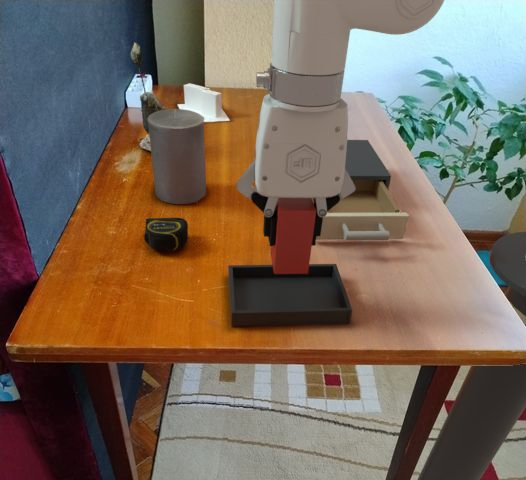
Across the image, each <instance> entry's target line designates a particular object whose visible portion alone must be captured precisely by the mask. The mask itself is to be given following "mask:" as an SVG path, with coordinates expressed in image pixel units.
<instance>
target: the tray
mask: <svg viewBox="0 0 526 480" xmlns="http://www.w3.org/2000/svg"><path fill="white" fill-rule="evenodd" d="M227 268H228V269H227V272H228V275H227V276H228V277H227V278H228V279H227V280H228V294H229V295H228V296H229V309H230V323H231V324H230V325H231V328H234V327H235V328H237V327H239V328H241V327H272V326H273V327H276V326H279V327H280V326H316V325H317V326H319V325H349V324H351V319H352V315H353V311H354V310H353V307H352V305H351V302H350V299H349V296H348V294H347V290H346V288H345V285H344V282H343V280H342V276H341V274H340V270H339V268H338V265H337V263H309V269H308V274H274V270H273V265H272V264H233V265H232V264H229V265H228V267H227Z"/></svg>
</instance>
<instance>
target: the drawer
mask: <svg viewBox="0 0 526 480" xmlns="http://www.w3.org/2000/svg"><path fill="white" fill-rule="evenodd" d="M352 181H353V183H354V185H355V188H356V189H355V191H354V192H353V193H351V194H350V195H348V196H346V197H345V198H343V199H341V200H340V201H339V202H338V203H337V204H336V205H335V206H334V207H332V208H331V209H330V210H329V211H327V215H326V216H325V217H323V221H322V228H321V235H320V236H316V241H323V240H324V241H326V240H327V241H330V240H333V241H336V240H337V241H338V240H339V241H340V240H343V241H389V240H404V236H405V232H406V230H407V229H406V228H407V225H408V222H409V217H410V215H409V213H408V212H401V208H400V207H399V205H398V204H397V202H396V201H395V199H394V198H393V195H392V194H391V192H390V191H389V188H388V189H387V188H386V186H385V184H384V183H383V181H382V180H352ZM312 200H313V198H312ZM313 203H314V200H313Z"/></svg>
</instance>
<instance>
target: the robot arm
mask: <svg viewBox="0 0 526 480" xmlns="http://www.w3.org/2000/svg"><path fill="white" fill-rule="evenodd" d="M444 1H445V0H274V1H273V20H272V21H273V22H272V39H271V59H270V63H269V67H267V70H264V71H263V72H259V71H257V72H256V75H255V76H256V80H255V81H256V82H255V83H256V87H257V88H263V89H266V90H267V92H269V93H267V94H266V95H264V97H263V99H262V103H261V107H260V111H259V112H260V113H259V117H258V123H257V131H256V138H255V148H254V149H255V150H254V159H253V161H252V162H251V163H250V164H249V166H248V167H247V168H246V169H245V171H244V172H243V173H242V174H241V176H240V177H239V178H238V179H237V181H236V184H235V185H236V190H237V192H238V193H240V194H241V195H243V196H244V197H245V198H246V199H249V200H250V201H251V202H252V203H253V204H254V205H255V206H256V207H257V208H258V209H259V210H260V211H261V213H263V228H262V229H263V230H262V232H263V233H262V234H263V237H267V238H268V244H269V246H270V247H271V246H274V245H275V241H276V227H277V216H276V211H275V208H276V205H277V202H278V199H279V198H313V200H314V206H315V209H316V216H315V224H314V232H313V239H312V247H315V246H316V244H317V240H316V236H320V235H321V228H322V221H323V217H325V216H326V215H327V211H329V210H330V209H331V208H332V207H334V206H335V205H336V204H337V203H338V202H339V201H340V200H341V199H343V198H345V197H346V196H348V195H350V194H351V193H353V192H354V191H355V189H356V188H355V185H354V183H353V181H352V180H351V178H350V176H349V174H348V173H347V171H346V169H345V161H346V150H347V140H348V131H349V111H348V108H349V107H348V104H347V102H346V101H345V100H344V99H343V98H342V92H343V86H344V85H343V84H344V78H345V70H346V65H347V64H346V63H347V56H348V49H349V42H350V36H351V31H352V30H354V29H357V30H362V31H369V32H375V33H380V34H385V35H394V36H397V35H399V36H400V35H406V34H410V33H413V32H415V31H418V30H419V29H421V28H423V27H424V26H425V25H427V24H428V23H430V22H431V20H432V19H434V17H436V15H437V14H438V12H439V11H440V10H441V8H442V6H443V4H444ZM254 183H255V187H254V185H253V184H254ZM525 257H526V256H525Z"/></svg>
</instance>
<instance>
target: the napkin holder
mask: <svg viewBox="0 0 526 480" xmlns="http://www.w3.org/2000/svg"><path fill="white" fill-rule="evenodd" d="M183 95H184V97H183V98H184V103H177V108H178V109H183V110H190V111H193V112H196V113H198V114H200V115H202V116H203V117H204V123H214V122H215V123H216V122H230V121H231V119H230V118H229V116H228V115H227V114H226V112H225V111H224V110H223V107H222V104H223V103H222V93H221V92H218V91H214V90H211V88H209V87H205V86H202V85H198V84H194V83H191V82H190V83H189V82H188V83H186V84H183Z"/></svg>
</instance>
